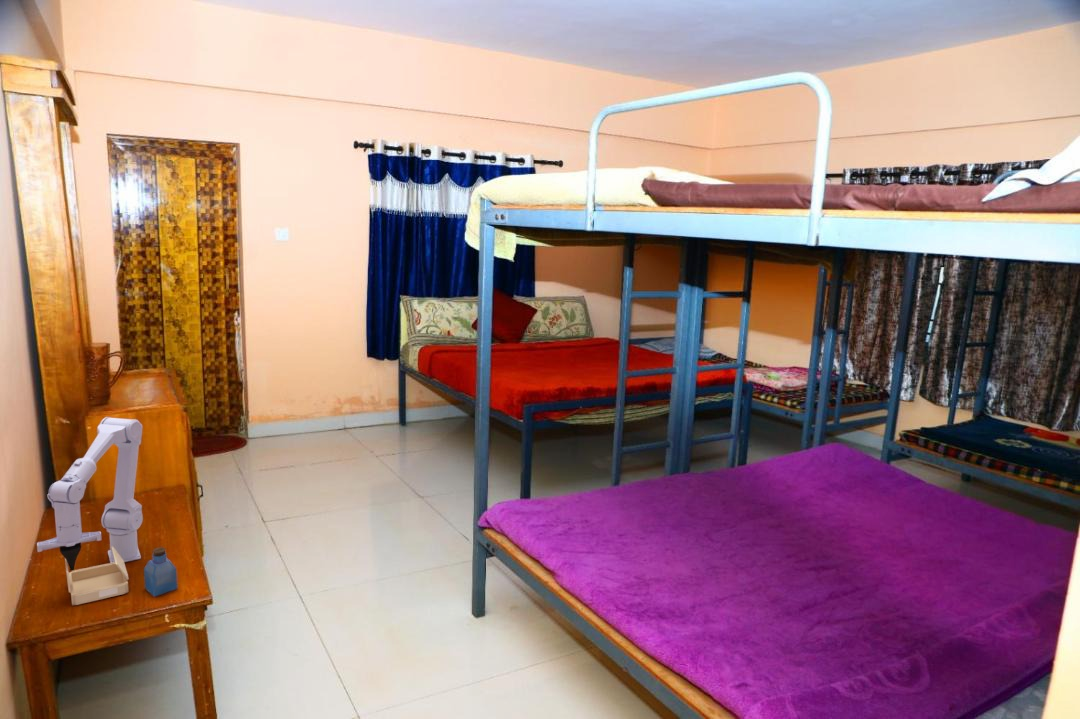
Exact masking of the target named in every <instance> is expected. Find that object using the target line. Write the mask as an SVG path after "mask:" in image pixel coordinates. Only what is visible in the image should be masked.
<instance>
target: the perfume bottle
mask: <svg viewBox="0 0 1080 719" xmlns="http://www.w3.org/2000/svg"><path fill="white" fill-rule="evenodd" d="M143 571H144V572H143V574H144V589H145V590H146V591H148V593H150V595H152V596H153V597H154V598H155V597H158V596H160V595H164V594H166V593H169V592H171V591H175V590H177V589H178V579H177V578H178V573H177V567H176V566H175V565H174V564H173V563H172V561H171V560H170V559H168V558H167V552H166V548H165V547H164V546H163V547H162V546H161V547H160V546H159V547H157V548H154V549H153V550H152V559H151V560H150V559H149V561H147V564H146V565H145V567H144V568H143Z"/></svg>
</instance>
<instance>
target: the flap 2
mask: <svg viewBox="0 0 1080 719" xmlns="http://www.w3.org/2000/svg"><path fill="white" fill-rule="evenodd" d="M112 551H113V555H114V559H115V563H116V565H117V567H118V568H119V569H120V571H121V572H122V573H123V575H124V576H125V577H126V579H127V581H128V580H129V579H130V578H129V574H128V571H127V567H126V564H125V563H126V562H124V560H123V559H122V558H121V556H120V555H119V554H118V552H117V551H116V550H115V548H114V547H113V546H112Z"/></svg>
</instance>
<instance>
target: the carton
mask: <svg viewBox="0 0 1080 719" xmlns="http://www.w3.org/2000/svg"><path fill="white" fill-rule="evenodd" d="M69 581H70V591H71V592H70V598H71V605H72V606H78V605H82V604H86V603H91V602H96V601H99V600H104V599H108V598H111V597H116V596H120V595H125V594H128V593H129V582H128V580H127V579H126V577H125V576H124V575H123V573H122V572H121V571H120V569H119V568H118V567H117V565H116V563H115V562H113V563H110V562H109V563H104V564H100V565H99V564H98V565H93V566H89V567H86V568H79V569H74V570H72V571H70V572H69Z"/></svg>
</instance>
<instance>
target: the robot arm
mask: <svg viewBox="0 0 1080 719" xmlns="http://www.w3.org/2000/svg"><path fill="white" fill-rule="evenodd" d="M96 428H97V430H96V432H97V433H96V434H97V435H96V437H95V439H94V440H93V441H92V443H91V444H90V446H89V448H88V449H87V451H86V453H85V454H84V456H83V457H81V458H80V457H79V458H77V459H75V461H74V462H73V463H72V464H71V466H70V467H69V469H68V470H67V471H66V472H65V474H64V475H63V477H62V478H61V479H60V480H57V481H55V482H54V483H53V482H52V484H51V485H50V486H49V489H48V494H46V495H47V500H49V502H50V503H51V508H52V509H54V518H55V519H54V520H55V521H54V522H55V532H56V537H53V538H50V539H47V540H43V541H38V542H36V546H37V547H36V549H37V553H40V552H43V551H44V550H45V551H46V550H51V549H56V548H57V549H58V548H59V551H60V553H61V555H62V556H63V557H64V560H65V559H66V561H67V563H68V568H69V571H70V572H72V571H74V570H75V565H76V561H77V559H78V555H79V553H80V552H81V551H82V550H81V549H82V544H83V543H88V542H93V541H97V542H99V541H102V532H101V531H99V530H98V531H91V532H90V531H89V532H88V531H87V532H82V531H83V530H82V517H81V503H80V501H81V500H82V499H83V498H84V495H85V491H86V488H87V484H88V482H89V481H90V479H91V478H92V476H93V475H94V474H95V473H96V471H97V469H98V468H97V463H98V461H99V460H100V459H101V458H102V457H103V456H104V454H106V452H107V451H108V450H109V449H110V448H111V447H112V446H113V445H114V446H116V447H117V448H118V450H117V451H118V453H117V462H116V463H117V464H116V472H115V480H114V492H113V499H112V500H111V501H108V502H107V503H106V504H105V505H104V511H103V513H102V515H101V520H100V521H101V522H100V523H101V526H102V527H103V528H104V529H106V532H107V533H109V549H108V550H107V555H108V558H109V559H108V560H109V563H113V562H115V559H114V555H113V551H112V546H113V547H114V548H115V550H116V551H117V552H118V554H119V555H120V556H121V558H122V559H123V560H124V563H127V562H133V561H136V560H141V558H142V556H141V553H140V550H139V545H138V531H137V530H138V529H139V528H140V527H141V525H142V524H143V520H144V518H143V517H144V516H143V512H142V508H143V505H142V504H141V503H139V501H137V500H136V499H135V498H134V496H135V489H136V488H135V487H136V479H137V478H136V477H137V470H138V469H137V468H138V461H139V460H138V459H139V458H138V456H139V448H140V445H141V444H142V437H143V429H144V428H143V424H142V423H141V422H140V421H139V420H138V419H136V418H135V419H134V418H133V419H132V418H131V419H130V418H118V417H109V416H105V417H104V418H103V419H102V420H101V421H100V423H99V424H98V426H97V427H96Z"/></svg>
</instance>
